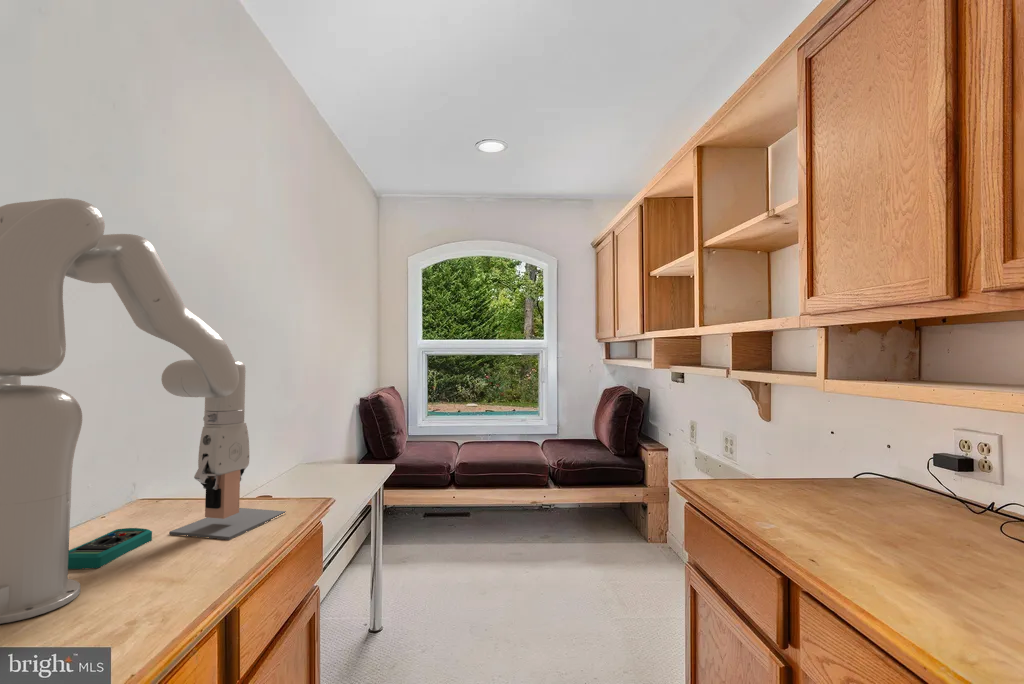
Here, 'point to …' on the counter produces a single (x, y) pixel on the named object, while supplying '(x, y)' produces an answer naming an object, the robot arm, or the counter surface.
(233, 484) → the block
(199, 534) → the mat
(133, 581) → the counter surface
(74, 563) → the digital multimeter
